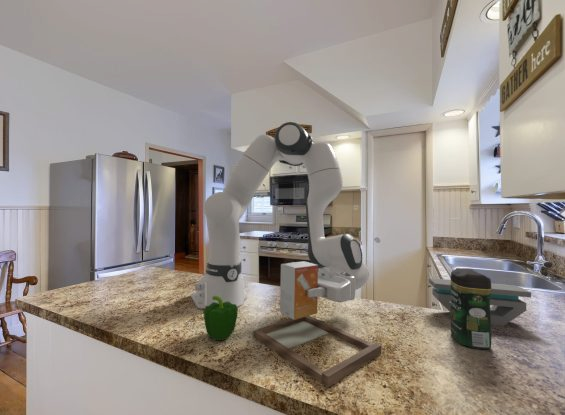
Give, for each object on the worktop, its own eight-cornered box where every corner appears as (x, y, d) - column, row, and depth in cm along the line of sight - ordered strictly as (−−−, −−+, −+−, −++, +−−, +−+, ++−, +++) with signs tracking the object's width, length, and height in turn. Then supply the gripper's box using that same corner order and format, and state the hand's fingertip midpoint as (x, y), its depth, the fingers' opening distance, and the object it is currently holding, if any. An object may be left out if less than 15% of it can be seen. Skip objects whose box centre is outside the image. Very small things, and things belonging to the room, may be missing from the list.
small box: (294, 320, 64) (294, 267, 64) (279, 312, 69) (280, 263, 69) (318, 313, 68) (318, 264, 69) (302, 306, 73) (303, 260, 74)
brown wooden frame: (253, 336, 67) (253, 328, 67) (305, 318, 79) (305, 312, 79) (327, 387, 48) (328, 376, 48) (381, 353, 60) (381, 345, 60)
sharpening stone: (515, 319, 83) (515, 285, 83) (531, 329, 75) (531, 292, 76) (428, 309, 90) (428, 277, 91) (434, 317, 83) (434, 283, 83)
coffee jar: (446, 331, 73) (446, 265, 74) (479, 335, 71) (479, 267, 71) (458, 347, 64) (459, 272, 64) (496, 353, 62) (497, 275, 62)
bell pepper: (243, 336, 67) (244, 297, 67) (215, 347, 61) (216, 305, 62) (225, 326, 73) (226, 290, 73) (198, 335, 67) (199, 296, 68)
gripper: (305, 265, 85) (272, 270, 76) (359, 277, 69) (326, 286, 60) (305, 284, 85) (272, 292, 76) (359, 301, 69) (325, 313, 60)
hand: (296, 289), depth 68 cm, fingers closed on small box, 6 cm apart
